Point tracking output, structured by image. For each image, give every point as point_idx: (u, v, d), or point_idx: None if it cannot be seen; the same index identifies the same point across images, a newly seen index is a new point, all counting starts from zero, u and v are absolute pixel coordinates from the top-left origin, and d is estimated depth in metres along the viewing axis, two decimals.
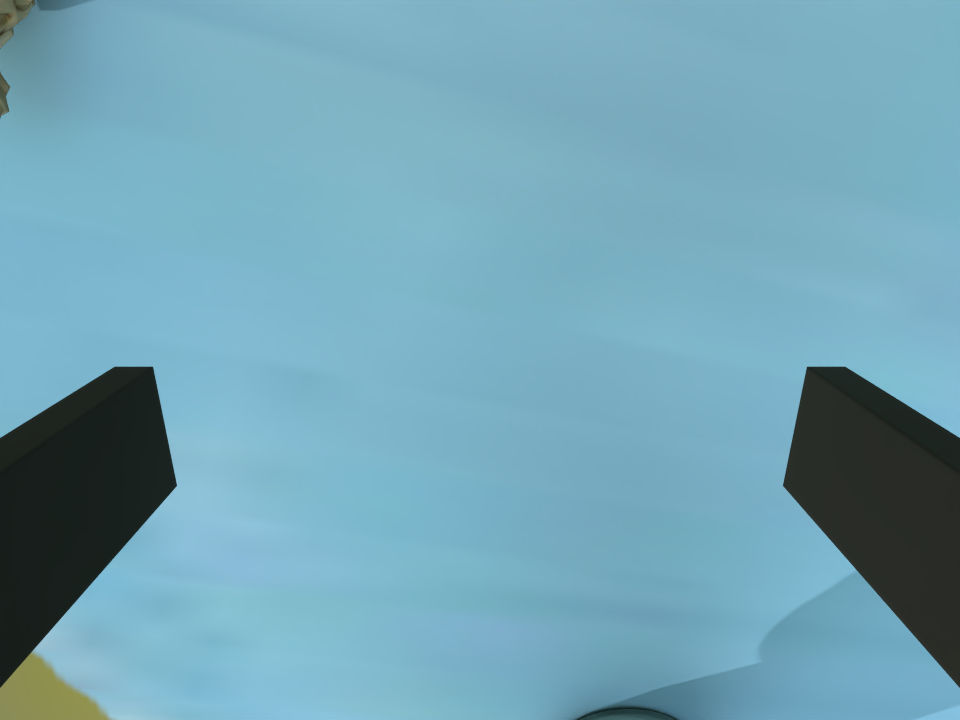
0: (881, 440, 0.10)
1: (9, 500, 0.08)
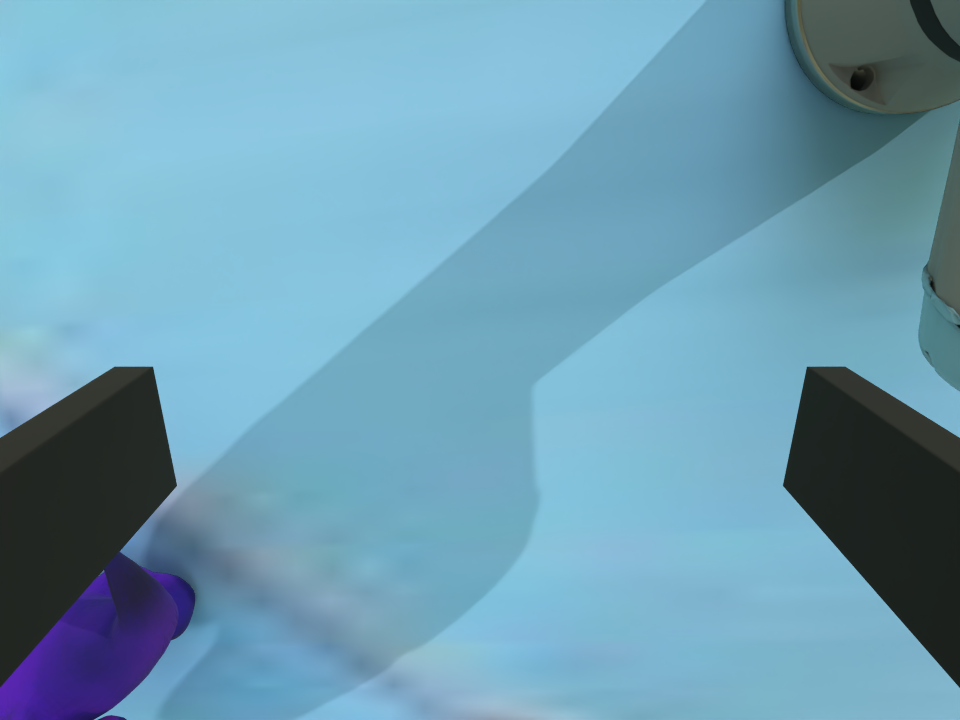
0: (881, 440, 0.10)
1: (9, 500, 0.08)
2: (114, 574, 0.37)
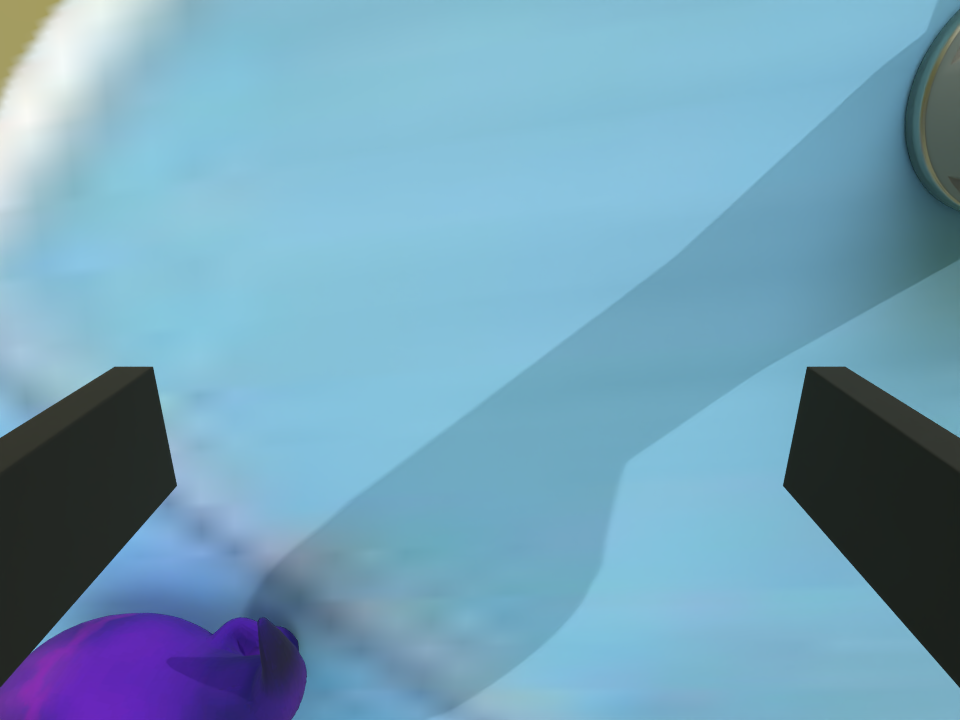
0: (881, 440, 0.10)
1: (9, 500, 0.08)
2: (268, 644, 0.39)
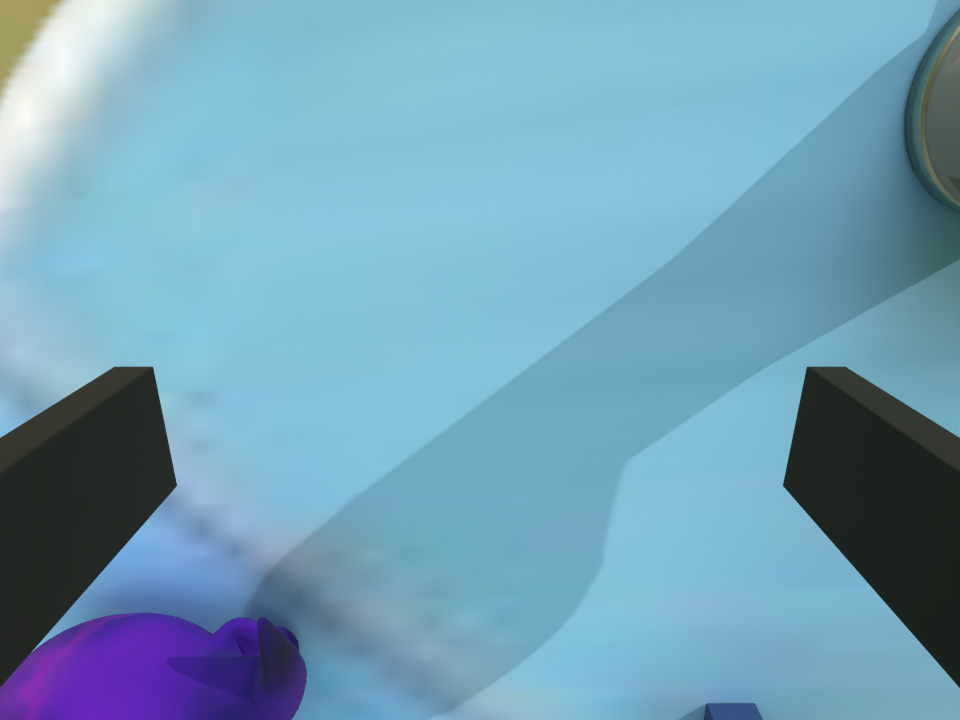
0: (881, 440, 0.10)
1: (9, 500, 0.08)
2: (268, 644, 0.39)
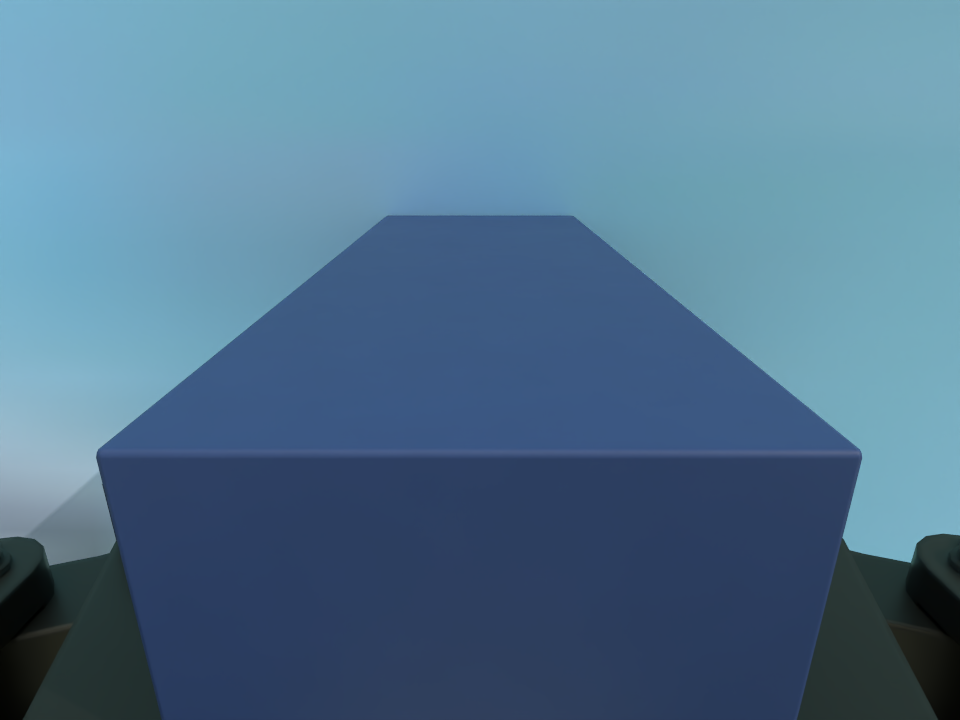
0: None
1: None
2: None
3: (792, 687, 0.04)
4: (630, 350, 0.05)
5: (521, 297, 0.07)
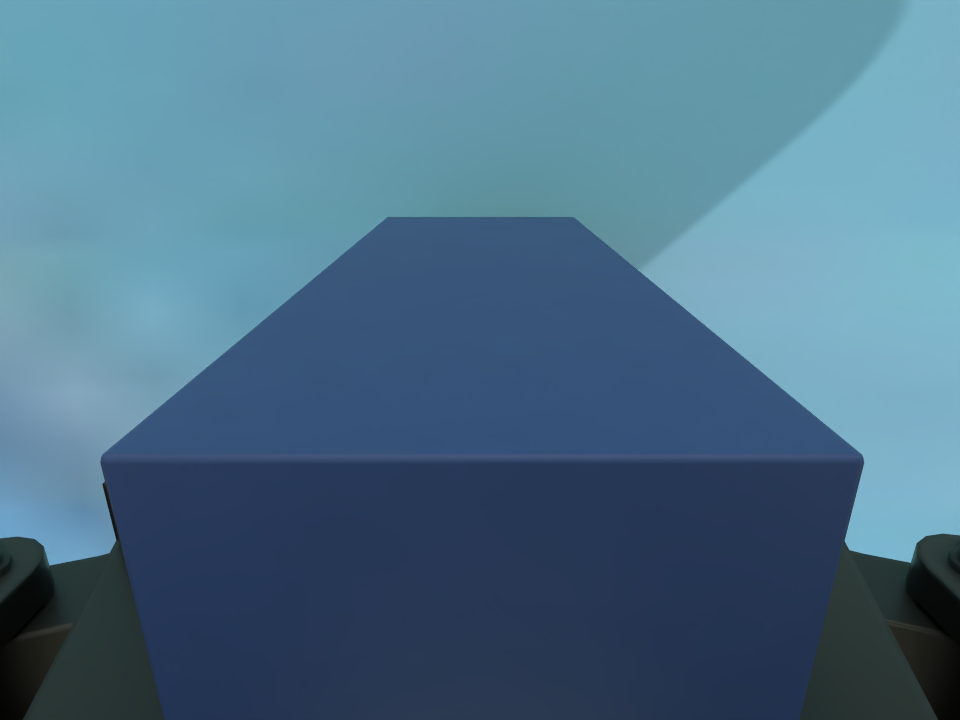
0: None
1: None
2: None
3: (794, 691, 0.04)
4: (631, 355, 0.05)
5: (523, 300, 0.07)
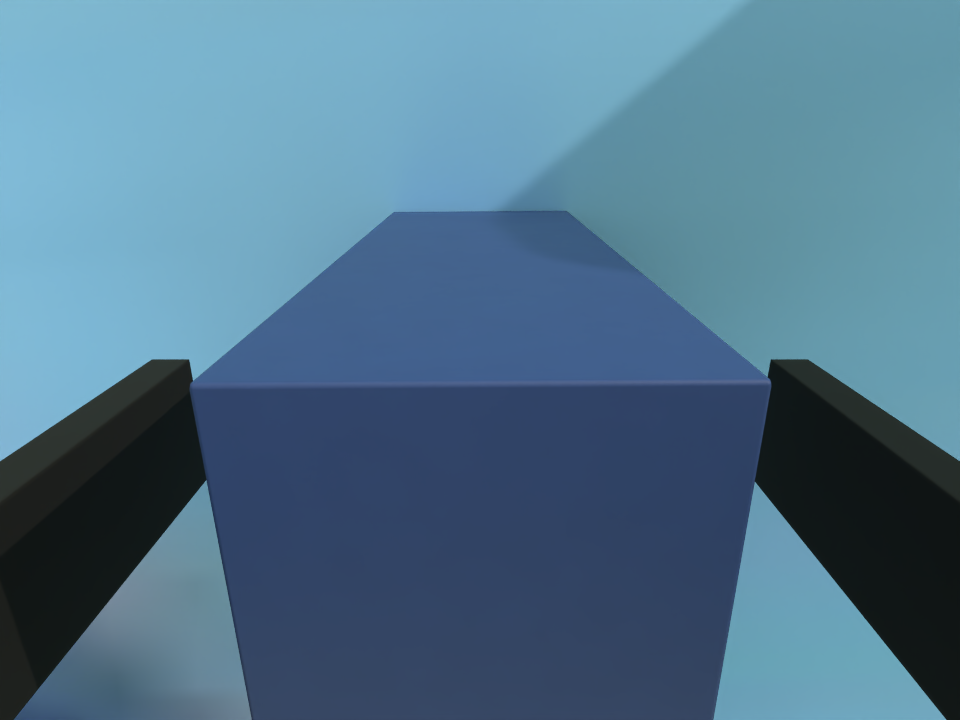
0: (834, 429, 0.10)
1: (67, 484, 0.09)
2: None
3: (728, 574, 0.05)
4: (603, 317, 0.06)
5: (516, 278, 0.08)
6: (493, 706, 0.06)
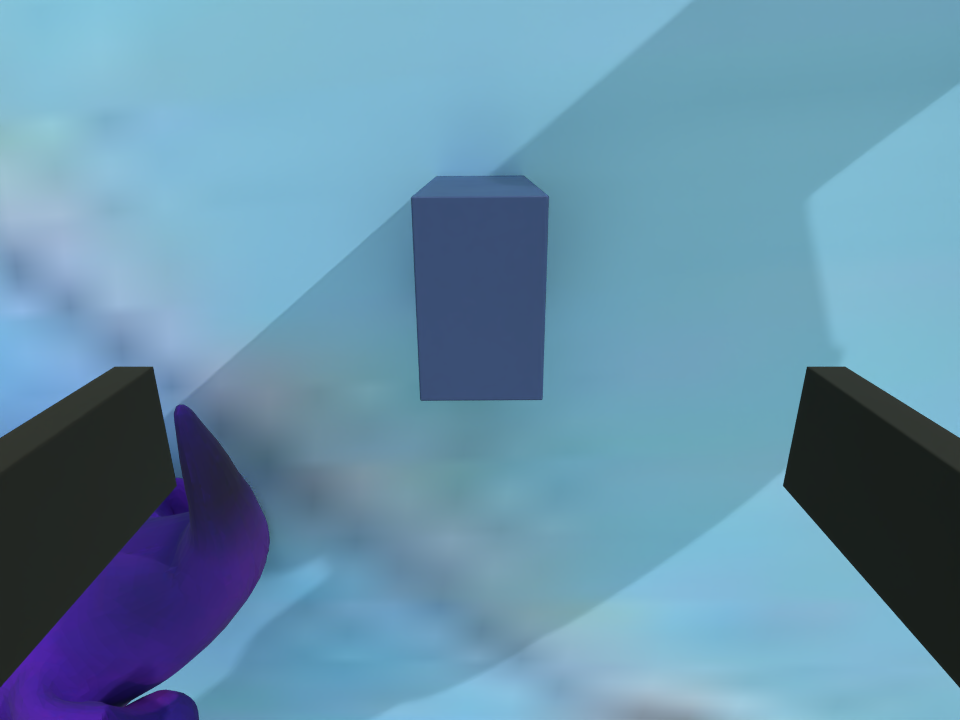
0: (881, 440, 0.10)
1: (9, 500, 0.08)
2: (194, 453, 0.23)
3: (543, 251, 0.21)
4: (516, 191, 0.22)
5: (492, 187, 0.24)
6: (483, 296, 0.21)
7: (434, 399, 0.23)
